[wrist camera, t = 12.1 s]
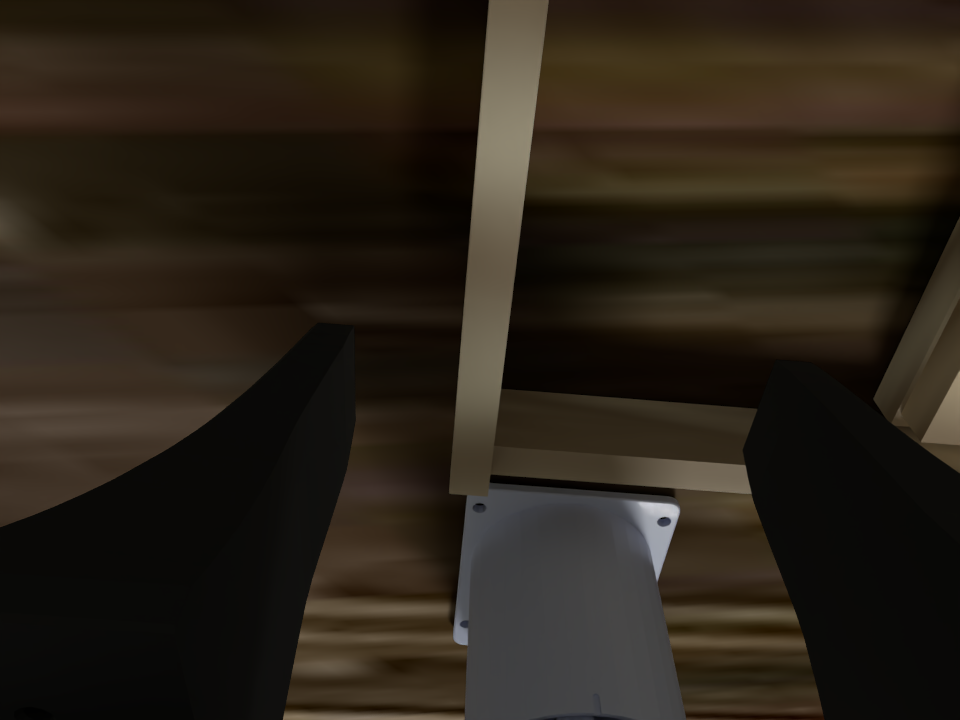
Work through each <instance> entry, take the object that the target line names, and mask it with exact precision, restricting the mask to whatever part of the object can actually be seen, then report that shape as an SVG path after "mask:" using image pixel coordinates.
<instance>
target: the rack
mask: <svg viewBox="0 0 960 720" xmlns="http://www.w3.org/2000/svg"><path fill="white" fill-rule="evenodd" d="M548 2H549V0H489V4H488V17H487V29H486V41H485V53H484V65H483V78H482V90H481V102H480V114H479V127H478V139H477V151H476V163H475V175H474V188H473V200H472V212H471V224H470V237H469V249H468V261H467V273H466V285H465V298H464V310H463V322H462V334H461V347H460V359H459V371H458V383H457V396H456V408H455V421H454V434H453V447H452V460H451V473H450V486H449V494H459V495H472V496H486V497H488V490H489V482H490V474H492V475H505V476H518V477H531V478H545V479H558V480H571V481H585V482H598V483H611V484H624V485H638V486H651V487H664V488H678V489H691V490H704V491H717V492H731V493H744V494H752V493H751V489H750V485H749V480H748V476H747V471H746V466H745V461H744V456H743V451H742V450H743V447H744V444H745V442H746V439H747V436H748V434H749V431H750V428H751V425H752V423H753V420H754V417H755V415H756V412H757V409H753V408H740V407H727V406H715V405H702V404H689V403H676V402H664V401H651V400H638V399H626V398H613V397H600V396H587V395H575V394H562V393H549V392H537V391H524V390H511V389H501V385H502V376H503V368H504V360H505V352H506V344H507V336H508V328H509V319H510V311H511V303H512V295H513V287H514V279H515V271H516V262H517V254H518V246H519V238H520V230H521V222H522V214H523V206H524V197H525V189H526V181H527V173H528V165H529V157H530V149H531V140H532V132H533V124H534V116H535V108H536V100H537V92H538V83H539V75H540V67H541V59H542V51H543V43H544V35H545V26H546V18H547V10H548ZM873 400H874V401H875V403H876V404H877V406H878V407H879V409H880V410H881V412H882V413H883V415H884V416H885V418H886V419H887V420H888V421H889V422H890V423H892V424H893V425H894V426H896V427H897V428H898V429H899V430H901V431H902V432H903V433H905V434H906V435H907V436H909V437H910V438H911V439H913V440H914V441H915V442H917V443H918V444H919V445H921V446H922V447H923V448H925V449H926V450H928V451H929V452H930V453H932V454H933V455H934V456H936V457H937V458H939V459H940V460H942V461H943V462H945V463H946V464H947V465H949V466H950V467H952V468H953V469H955V470H956V471H957V472H959V473H960V217H959V219H958V222H957V224H956V226H955V228H954V230H953V232H952V234H951V236H950V238H949V240H948V243H947V245H946V247H945V249H944V251H943V253H942V255H941V257H940V259H939V261H938V264H937V266H936V268H935V270H934V272H933V274H932V276H931V278H930V280H929V283H928V285H927V287H926V289H925V291H924V293H923V295H922V297H921V299H920V301H919V304H918V306H917V308H916V310H915V312H914V314H913V316H912V318H911V320H910V323H909V325H908V327H907V329H906V331H905V333H904V335H903V337H902V339H901V341H900V344H899V346H898V348H897V350H896V352H895V354H894V356H893V358H892V360H891V363H890V365H889V367H888V369H887V371H886V373H885V375H884V377H883V379H882V381H881V384H880V386H879V388H878V390H877V392H876V394H875V396H874V398H873Z"/></svg>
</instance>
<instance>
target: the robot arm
mask: <svg viewBox="0 0 960 720" xmlns="http://www.w3.org/2000/svg"><path fill="white" fill-rule="evenodd" d="M355 421H356V414H355V339H354V326H352V325H340V324H328V323H317V324H316V325H315V326H314V327H312V328H311V329H310V330H309V331H308V332H307V333H306V334H305V335H304V336H303V337H302V338H301V339H300V340H299V341H298V342H297V343H296V344H295V346H294V347H293V348H292V349H291V350H290V351H289V352H288V353H287V354H286V355H284V356H283V357H282V358H281V359H280V360H279V361H278V362H277V363H276V364H275V365H274V366H273V367H272V368H271V369H270V370H269V371H268V372H267V373H266V374H264V375H263V376H262V377H261V378H260V379H259V380H258V381H257V382H256V383H255V384H254V385H253V386H251V387H250V388H249V389H248V390H247V391H246V392H245V393H243V394H242V395H241V396H240V397H239V398H237V399H236V400H235V401H234V402H232V403H231V404H230V405H229V406H227V407H226V408H225V409H224V410H223V411H221V412H220V413H219V414H218V415H216V416H215V417H214V418H213V419H211V420H210V421H209V422H207V423H206V424H205V425H203V426H202V427H200V428H199V429H198V430H196V431H195V432H193V433H192V434H190V435H189V436H187V437H186V438H184V439H183V440H181V441H180V442H178V443H177V444H175V445H174V446H172V447H170V448H169V449H167V450H165V451H164V452H162V453H160V454H159V455H157V456H155V457H153V458H151V459H150V460H148V461H146V462H144V463H142V464H141V465H139V466H137V467H135V468H133V469H132V470H130V471H128V472H126V473H124V474H123V475H121V476H119V477H117V478H115V479H113V480H111V481H109V482H107V483H105V484H103V485H101V486H99V487H97V488H95V489H93V490H91V491H88V492H86V493H84V494H82V495H80V496H78V497H75V498H73V499H71V500H69V501H66V502H64V503H62V504H59V505H57V506H55V507H53V508H50V509H48V510H45V511H43V512H40V513H38V514H35V515H33V516H30V517H27V518H25V519H22V520H19V521H16V522H14V523H11V524H8V525H6V526H3V527H0V720H283V715H284V710H285V705H286V700H287V694H288V689H289V684H290V679H291V674H292V669H293V664H294V658H295V653H296V648H297V644H298V639H299V634H300V629H301V624H302V619H303V614H304V610H305V605H306V600H307V597H308V593H309V589H310V585H311V582H312V578H313V575H314V572H315V569H316V565H317V562H318V559H319V556H320V553H321V550H322V547H323V543H324V540H325V537H326V534H327V531H328V528H329V525H330V522H331V518H332V515H333V512H334V509H335V506H336V503H337V499H338V496H339V493H340V490H341V487H342V484H343V480H344V477H345V474H346V470H347V465H348V460H349V455H350V449H351V444H352V438H353V432H354V427H355ZM742 451H743V456H744V461H745V466H746V471H747V476H748V480H749V485H750V489H751V493H752V497H753V501H754V504H755V507H756V510H757V512H758V515H759V518H760V520H761V523H762V526H763V528H764V531H765V534H766V536H767V539H768V542H769V544H770V547H771V550H772V552H773V555H774V557H775V560H776V562H777V565H778V568H779V570H780V573H781V575H782V578H783V581H784V583H785V586H786V588H787V591H788V593H789V596H790V599H791V601H792V604H793V606H794V609H795V612H796V615H797V618H798V621H799V624H800V627H801V630H802V633H803V636H804V639H805V643H806V647H807V650H808V654H809V658H810V662H811V666H812V669H813V673H814V677H815V681H816V685H817V689H818V693H819V697H820V701H821V706H822V710H823V714H824V719H825V720H960V473H959V472H957V471H956V470H955V469H953V468H952V467H950V466H949V465H947V464H946V463H945V462H943V461H942V460H940V459H939V458H937V457H936V456H934V455H933V454H932V453H930V452H929V451H928V450H926V449H925V448H923V447H922V446H921V445H919V444H918V443H917V442H915V441H914V440H913V439H911V438H910V437H909V436H907V435H906V434H905V433H903V432H902V431H901V430H899V429H898V428H897V427H896V426H894V425H893V424H892V423H890V422H889V421H888V420H887V419H885V418H884V417H883V416H881V415H880V414H879V413H878V412H876V411H875V410H874V409H873V408H871V407H870V406H869V405H867V404H866V403H865V402H864V401H862V400H861V399H860V398H859V397H857V396H856V395H855V394H854V393H852V392H851V391H850V390H848V389H847V388H846V387H845V386H843V385H842V384H841V383H839V382H838V381H837V380H835V379H834V378H833V377H831V376H830V375H829V374H827V373H826V372H825V371H823V370H822V369H820V368H819V367H817V366H816V365H814V364H813V363H811V362H799V361H786V360H776V361H775V363H774V366H773V369H772V371H771V374H770V377H769V379H768V382H767V385H766V388H765V390H764V393H763V396H762V398H761V401H760V404H759V407H758V409H757V412H756V415H755V417H754V420H753V423H752V425H751V428H750V431H749V434H748V436H747V439H746V442H745V444H744V447H743V450H742ZM477 503H481V504H484V505H480V506H479V505H475V504H477ZM679 514H680V506H679V503H678V501H677V500H676V499H675V498H673V497H669V496H658V495H645V494H631V493H618V492H605V491H591V490H578V489H565V488H551V487H538V486H525V485H511V484H498V483H489V490H488V497H486V496H472V495H467V500H466V510H465V520H464V530H463V540H462V550H461V560H460V570H459V580H458V589H457V599H456V609H455V619H454V629H453V639H454V641H455V642H456V643H458V644H461V645H468V649H467V675H466V701H465V720H686V717H685V712H684V707H683V703H682V698H681V693H680V688H679V684H678V679H677V674H676V669H675V665H674V660H673V655H672V650H671V646H670V641H669V636H668V632H667V627H666V622H665V617H664V613H663V608H662V603H661V598H660V594H659V589H658V584H657V581H658V578H659V575H660V572H661V569H662V566H663V563H664V560H665V557H666V554H667V551H668V548H669V544H670V541H671V538H672V535H673V532H674V529H675V526H676V523H677V520H678V517H679ZM661 517H667V518H665V519H660V518H661Z"/></svg>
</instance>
